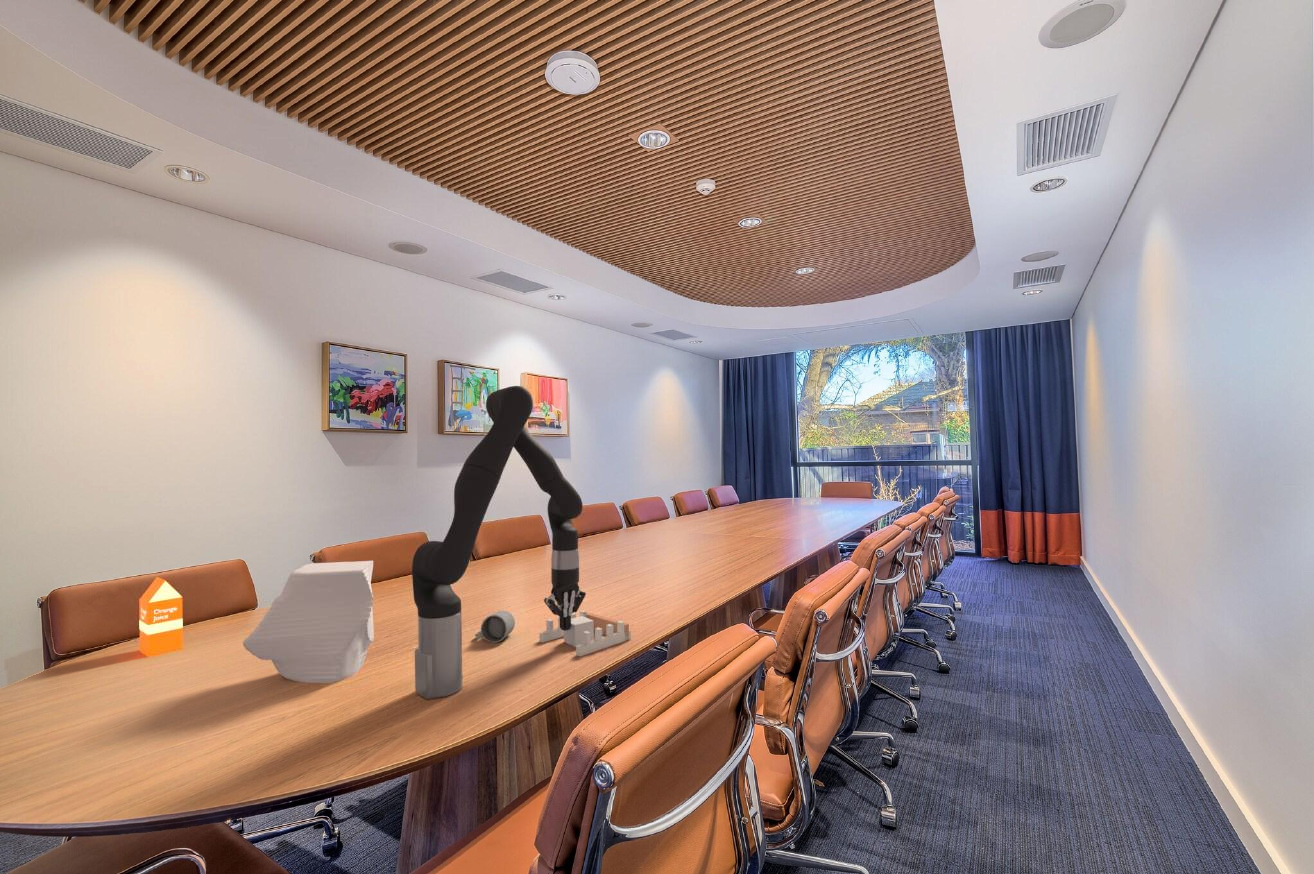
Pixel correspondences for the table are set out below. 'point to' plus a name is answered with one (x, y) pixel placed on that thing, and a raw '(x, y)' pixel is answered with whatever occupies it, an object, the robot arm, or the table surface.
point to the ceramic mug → (496, 627)
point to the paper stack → (318, 623)
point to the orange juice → (160, 619)
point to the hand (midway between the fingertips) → (565, 629)
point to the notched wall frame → (602, 625)
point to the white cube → (578, 630)
